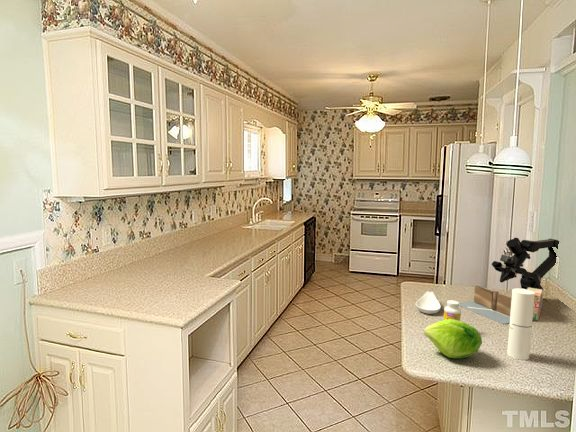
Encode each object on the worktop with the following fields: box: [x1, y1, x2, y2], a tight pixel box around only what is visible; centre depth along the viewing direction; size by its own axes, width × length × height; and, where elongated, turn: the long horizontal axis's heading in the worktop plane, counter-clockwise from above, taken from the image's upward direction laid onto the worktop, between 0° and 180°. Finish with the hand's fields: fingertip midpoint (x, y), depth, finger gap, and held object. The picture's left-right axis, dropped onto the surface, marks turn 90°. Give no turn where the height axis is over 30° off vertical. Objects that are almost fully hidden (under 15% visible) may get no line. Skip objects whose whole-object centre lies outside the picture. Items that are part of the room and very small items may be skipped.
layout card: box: [458, 300, 510, 325], centre depth 192 cm, size 16×29×1 cm, turn 20°
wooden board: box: [473, 285, 494, 308], centre depth 199 cm, size 2×11×8 cm, turn 20°
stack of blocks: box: [527, 287, 544, 321], centre depth 190 cm, size 21×6×12 cm, turn 143°
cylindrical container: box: [506, 287, 535, 361], centre depth 144 cm, size 7×7×25 cm
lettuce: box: [423, 319, 483, 359], centre depth 145 cm, size 15×20×14 cm
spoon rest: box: [415, 290, 442, 315], centre depth 196 cm, size 24×12×7 cm, turn 158°
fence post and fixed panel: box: [492, 290, 512, 317], centre depth 187 cm, size 2×15×10 cm, turn 20°
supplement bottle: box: [443, 299, 462, 321], centre depth 168 cm, size 7×7×13 cm
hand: (500, 281), depth 199 cm, fingers closed
